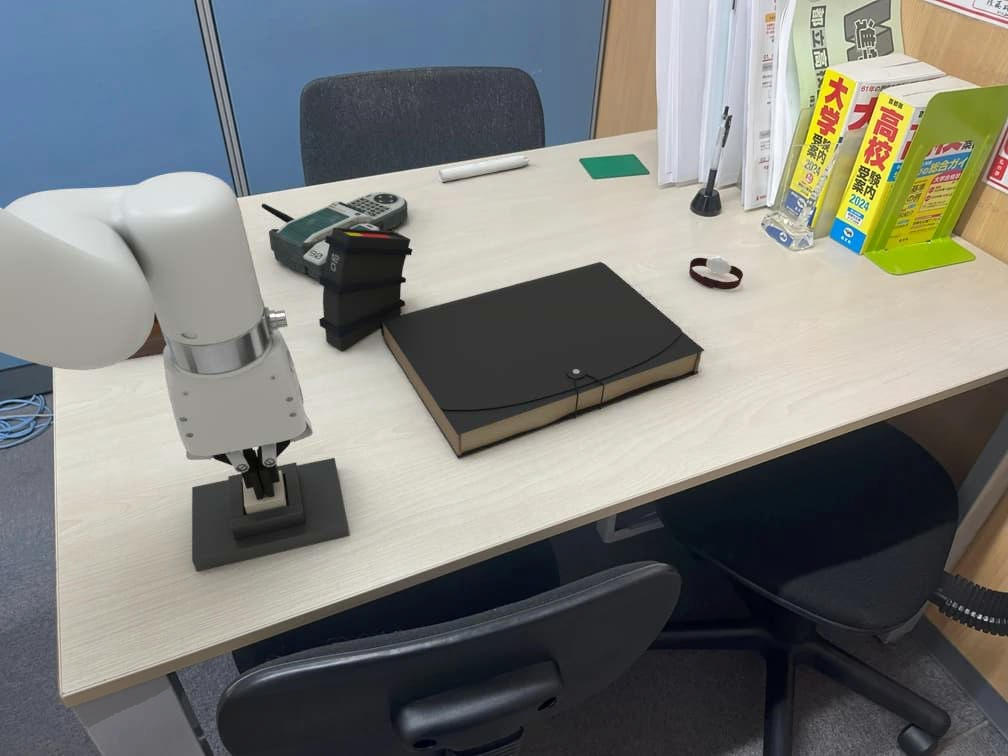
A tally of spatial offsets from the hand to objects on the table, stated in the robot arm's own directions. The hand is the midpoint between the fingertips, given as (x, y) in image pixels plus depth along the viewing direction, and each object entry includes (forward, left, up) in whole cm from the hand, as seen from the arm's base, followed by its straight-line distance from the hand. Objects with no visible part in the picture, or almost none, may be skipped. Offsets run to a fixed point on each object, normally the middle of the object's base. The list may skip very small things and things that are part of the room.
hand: (264, 486), depth 67 cm
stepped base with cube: (0, 0, -4) cm, 4 cm away
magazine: (+15, +28, -5) cm, 32 cm away
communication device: (+16, +50, -5) cm, 53 cm away
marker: (+43, +68, -5) cm, 81 cm away
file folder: (+34, +16, -5) cm, 38 cm away
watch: (+65, +25, -5) cm, 70 cm away
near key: (0, 0, -2) cm, 2 cm away
